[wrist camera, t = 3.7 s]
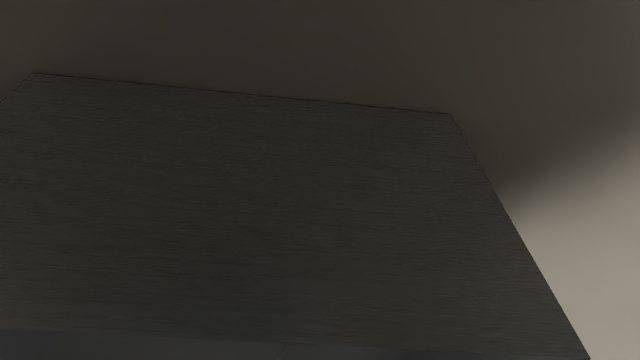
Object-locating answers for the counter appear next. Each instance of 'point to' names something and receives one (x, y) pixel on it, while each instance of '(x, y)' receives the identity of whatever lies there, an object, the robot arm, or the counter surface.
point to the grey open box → (254, 232)
